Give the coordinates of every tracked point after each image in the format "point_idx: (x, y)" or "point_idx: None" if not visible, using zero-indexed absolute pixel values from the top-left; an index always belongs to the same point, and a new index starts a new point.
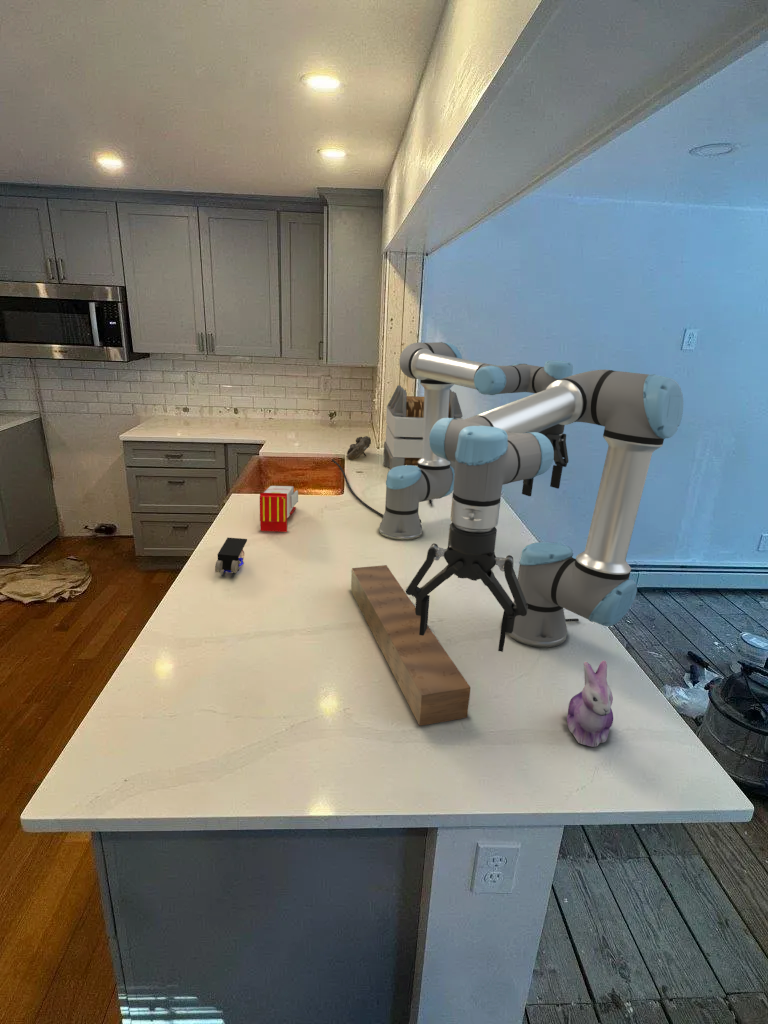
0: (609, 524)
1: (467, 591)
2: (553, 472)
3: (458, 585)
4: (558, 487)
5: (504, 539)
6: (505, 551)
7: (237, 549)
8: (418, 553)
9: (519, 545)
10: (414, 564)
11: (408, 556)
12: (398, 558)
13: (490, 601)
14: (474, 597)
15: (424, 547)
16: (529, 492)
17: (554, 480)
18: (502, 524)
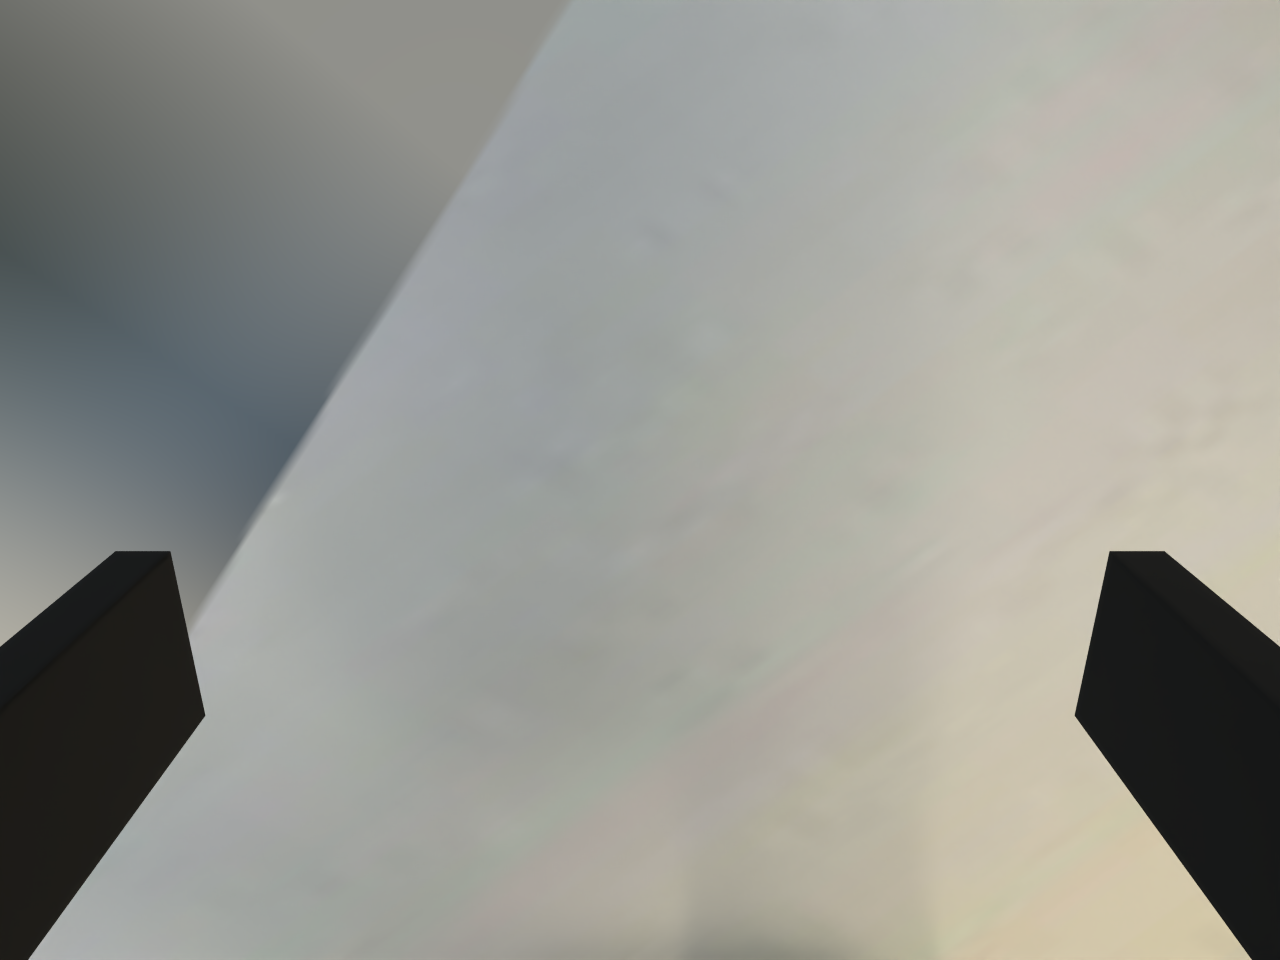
0: None
1: (1208, 366)
2: (4, 945)
3: (1173, 456)
4: (136, 561)
5: (328, 735)
6: (479, 614)
7: None
8: (970, 861)
9: (309, 624)
10: (1115, 779)
11: (1049, 862)
12: (1115, 872)
13: (1231, 176)
14: (1253, 282)
15: (872, 896)
16: (1209, 604)
17: (108, 741)
18: (146, 886)
